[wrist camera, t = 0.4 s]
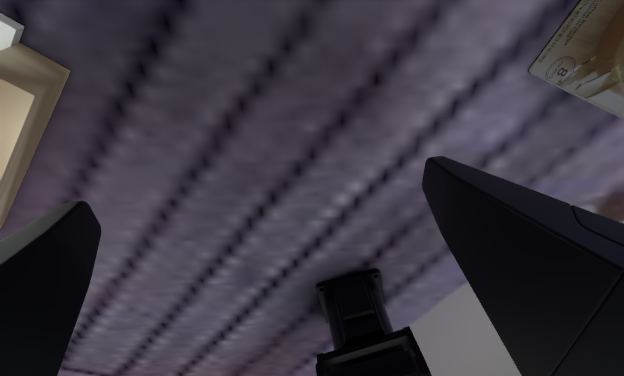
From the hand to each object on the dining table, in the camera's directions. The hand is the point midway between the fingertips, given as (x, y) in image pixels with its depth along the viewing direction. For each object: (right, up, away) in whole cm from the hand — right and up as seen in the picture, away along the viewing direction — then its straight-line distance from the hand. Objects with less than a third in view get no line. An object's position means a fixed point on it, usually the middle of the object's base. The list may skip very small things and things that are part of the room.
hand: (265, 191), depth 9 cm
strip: (-18, +3, +12) cm, 22 cm away
